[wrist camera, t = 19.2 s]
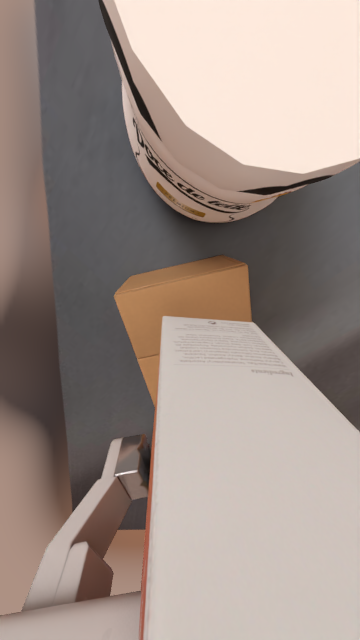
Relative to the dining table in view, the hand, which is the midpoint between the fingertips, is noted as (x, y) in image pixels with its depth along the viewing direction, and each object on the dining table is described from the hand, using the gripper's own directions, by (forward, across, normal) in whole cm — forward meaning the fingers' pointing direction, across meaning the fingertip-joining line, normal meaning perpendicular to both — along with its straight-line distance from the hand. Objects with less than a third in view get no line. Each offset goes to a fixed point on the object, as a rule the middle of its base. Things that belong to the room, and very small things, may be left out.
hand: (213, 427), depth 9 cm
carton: (+21, 0, -3) cm, 21 cm away
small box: (+4, 0, 0) cm, 4 cm away
